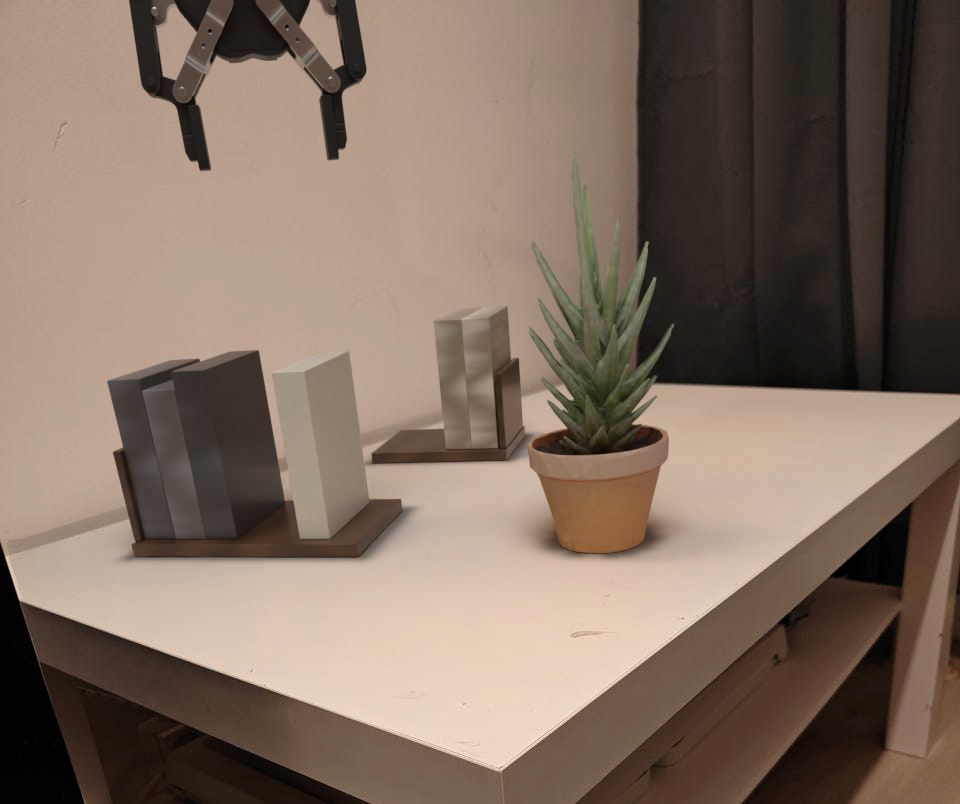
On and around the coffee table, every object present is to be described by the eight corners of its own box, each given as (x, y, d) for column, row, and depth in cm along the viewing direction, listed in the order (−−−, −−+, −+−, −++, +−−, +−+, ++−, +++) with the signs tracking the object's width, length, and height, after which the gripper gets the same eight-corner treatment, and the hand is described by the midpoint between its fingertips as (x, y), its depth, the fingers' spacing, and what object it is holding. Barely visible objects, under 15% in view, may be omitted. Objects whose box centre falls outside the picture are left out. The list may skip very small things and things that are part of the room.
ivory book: (299, 539, 69) (271, 372, 64) (342, 503, 77) (319, 351, 72) (330, 539, 68) (303, 371, 63) (369, 502, 76) (349, 350, 71)
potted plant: (565, 514, 72) (550, 157, 62) (685, 523, 68) (690, 142, 58) (507, 557, 65) (479, 157, 54) (639, 571, 60) (636, 140, 50)
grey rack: (134, 556, 71) (89, 377, 66) (202, 512, 81) (169, 353, 75) (358, 557, 67) (331, 365, 62) (402, 510, 77) (382, 341, 71)
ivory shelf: (372, 463, 92) (354, 325, 87) (401, 439, 101) (387, 312, 96) (506, 460, 89) (497, 317, 84) (525, 435, 98) (517, 304, 92)
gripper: (336, -120, 60) (369, 160, 67) (109, -113, 58) (166, 176, 65) (345, -163, 54) (380, 153, 61) (88, -156, 52) (155, 171, 58)
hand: (269, 165), depth 63 cm, fingers open, 8 cm apart
